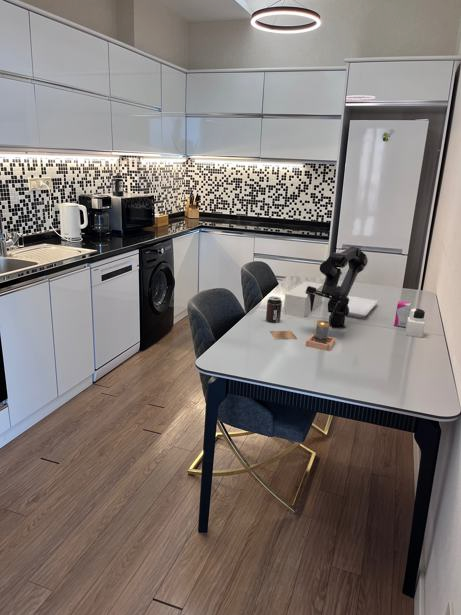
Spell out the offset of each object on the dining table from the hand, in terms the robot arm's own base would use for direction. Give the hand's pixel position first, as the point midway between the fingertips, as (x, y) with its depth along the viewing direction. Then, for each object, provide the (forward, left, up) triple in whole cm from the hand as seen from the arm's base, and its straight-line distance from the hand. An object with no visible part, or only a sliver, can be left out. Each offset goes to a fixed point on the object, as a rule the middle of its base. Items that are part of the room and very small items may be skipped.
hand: (321, 314), depth 201 cm
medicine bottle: (-47, -2, -11) cm, 48 cm away
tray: (-34, -38, -11) cm, 52 cm away
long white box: (-6, -41, -11) cm, 43 cm away
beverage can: (+16, -19, -11) cm, 27 cm away
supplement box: (-47, -14, -11) cm, 50 cm away
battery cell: (+3, +11, -10) cm, 15 cm away
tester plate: (+16, 0, -10) cm, 19 cm away
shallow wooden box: (+3, +11, -10) cm, 15 cm away
